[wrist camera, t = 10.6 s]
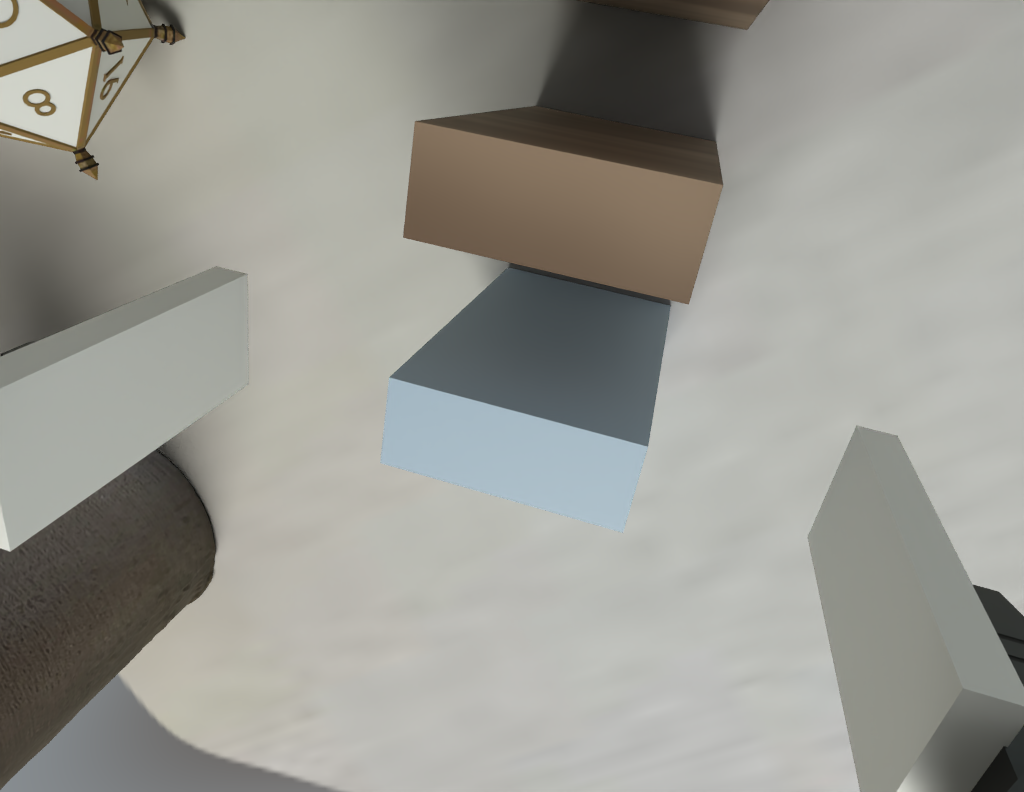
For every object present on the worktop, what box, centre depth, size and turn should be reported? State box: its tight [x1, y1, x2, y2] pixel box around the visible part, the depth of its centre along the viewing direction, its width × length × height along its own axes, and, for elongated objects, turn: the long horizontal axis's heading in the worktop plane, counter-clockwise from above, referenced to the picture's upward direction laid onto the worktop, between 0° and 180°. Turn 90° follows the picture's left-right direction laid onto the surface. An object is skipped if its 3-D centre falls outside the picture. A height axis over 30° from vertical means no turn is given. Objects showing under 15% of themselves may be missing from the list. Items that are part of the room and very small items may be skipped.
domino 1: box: [403, 106, 723, 304], centre depth 16 cm, size 2×5×10 cm, turn 80°
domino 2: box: [380, 267, 671, 533], centre depth 18 cm, size 2×5×10 cm, turn 80°
